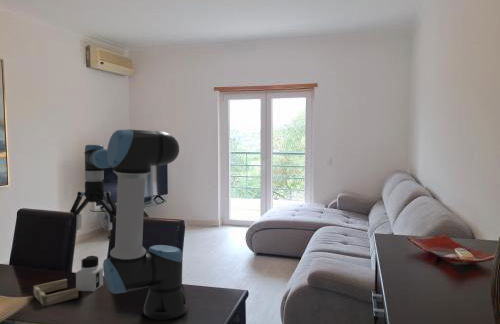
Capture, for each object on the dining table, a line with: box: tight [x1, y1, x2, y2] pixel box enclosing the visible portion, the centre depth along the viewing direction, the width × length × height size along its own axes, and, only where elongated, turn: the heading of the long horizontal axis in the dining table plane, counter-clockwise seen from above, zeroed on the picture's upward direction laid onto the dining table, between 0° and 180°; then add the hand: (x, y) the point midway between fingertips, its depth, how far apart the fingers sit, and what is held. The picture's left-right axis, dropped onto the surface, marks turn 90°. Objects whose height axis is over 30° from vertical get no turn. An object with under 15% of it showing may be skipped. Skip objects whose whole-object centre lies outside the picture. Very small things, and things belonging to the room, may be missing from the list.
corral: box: [32, 278, 79, 307], centre depth 144 cm, size 14×12×4 cm
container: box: [75, 255, 104, 292], centre depth 153 cm, size 8×8×13 cm
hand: (94, 229), depth 158 cm, fingers open, 13 cm apart
